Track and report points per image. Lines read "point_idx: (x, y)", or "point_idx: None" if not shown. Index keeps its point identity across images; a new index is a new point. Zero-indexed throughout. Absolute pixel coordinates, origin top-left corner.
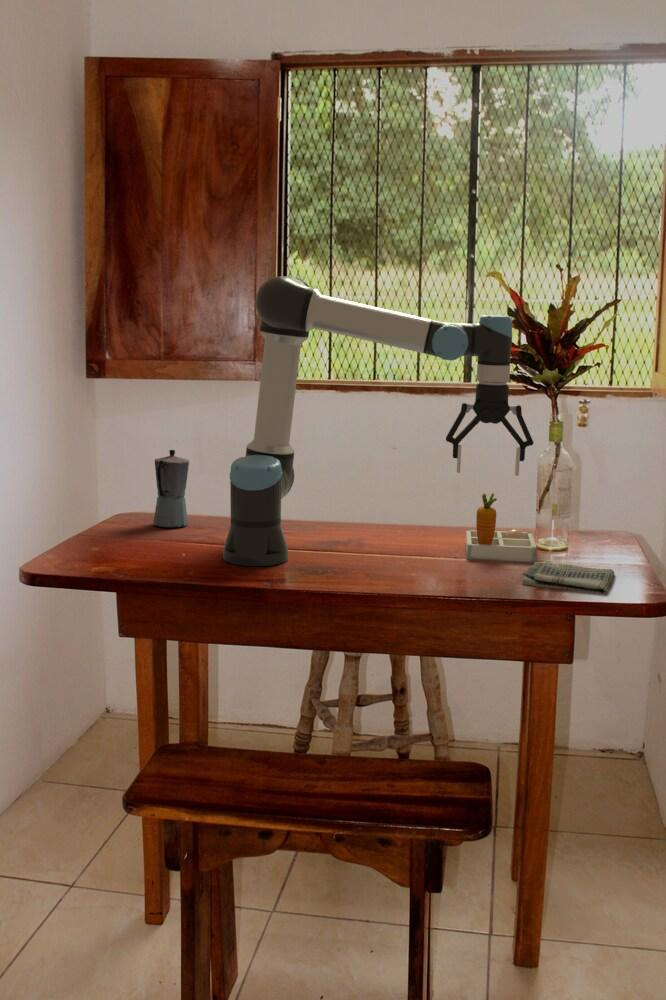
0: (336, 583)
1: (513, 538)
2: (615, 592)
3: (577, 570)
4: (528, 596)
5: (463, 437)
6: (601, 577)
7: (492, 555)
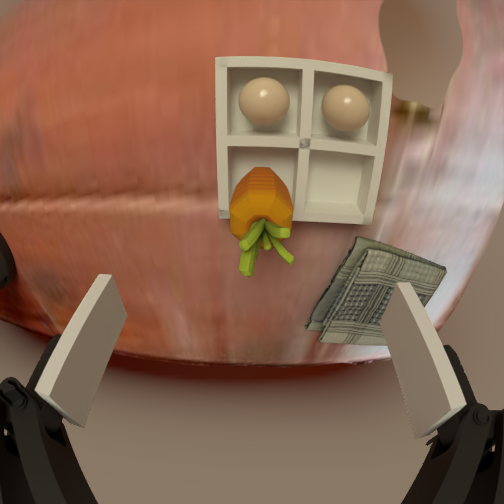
0: None
1: (340, 130)
2: None
3: None
4: (300, 357)
5: (78, 470)
6: None
7: None
